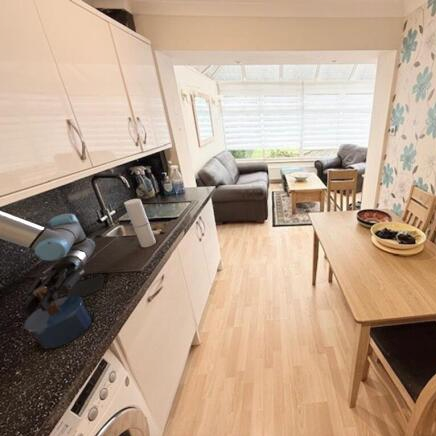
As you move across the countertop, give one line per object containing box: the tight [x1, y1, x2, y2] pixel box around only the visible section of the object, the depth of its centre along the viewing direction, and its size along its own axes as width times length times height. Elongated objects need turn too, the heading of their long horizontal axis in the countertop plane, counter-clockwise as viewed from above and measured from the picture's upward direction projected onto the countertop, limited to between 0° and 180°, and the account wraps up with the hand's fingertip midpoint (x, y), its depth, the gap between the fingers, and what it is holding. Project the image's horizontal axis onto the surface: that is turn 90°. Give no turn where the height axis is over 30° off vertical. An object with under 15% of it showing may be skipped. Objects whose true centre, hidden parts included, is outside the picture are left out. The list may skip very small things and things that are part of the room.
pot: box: [30, 303, 92, 349], centre depth 77 cm, size 13×13×8 cm
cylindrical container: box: [123, 198, 157, 248], centre depth 122 cm, size 7×7×25 cm
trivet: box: [66, 273, 106, 298], centre depth 98 cm, size 12×12×1 cm
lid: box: [23, 286, 83, 332], centre depth 73 cm, size 14×14×10 cm
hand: (34, 309), depth 67 cm, fingers closed on lid, 3 cm apart
